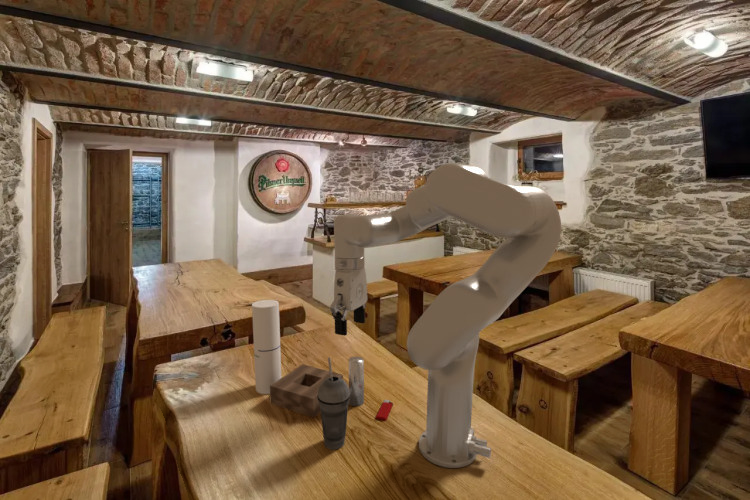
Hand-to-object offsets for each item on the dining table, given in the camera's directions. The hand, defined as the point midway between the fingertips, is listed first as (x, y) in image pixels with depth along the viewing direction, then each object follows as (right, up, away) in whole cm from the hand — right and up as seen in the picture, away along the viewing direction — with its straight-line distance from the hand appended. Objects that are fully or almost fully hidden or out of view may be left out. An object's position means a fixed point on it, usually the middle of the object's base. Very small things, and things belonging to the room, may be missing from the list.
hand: (350, 328), depth 98 cm
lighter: (+9, -22, -1) cm, 24 cm away
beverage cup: (-3, -23, -13) cm, 27 cm away
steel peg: (+1, -20, +3) cm, 21 cm away
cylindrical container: (-24, -19, +10) cm, 33 cm away
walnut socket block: (-12, -20, +5) cm, 24 cm away
